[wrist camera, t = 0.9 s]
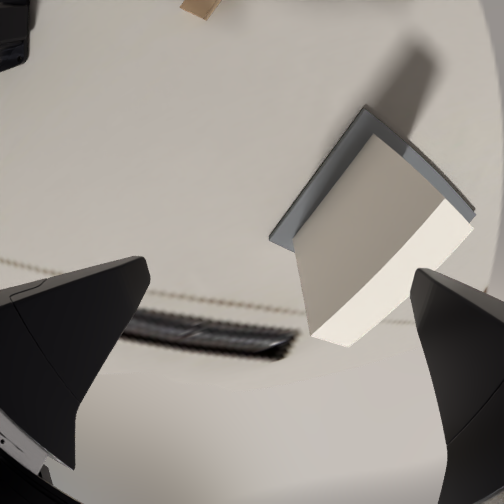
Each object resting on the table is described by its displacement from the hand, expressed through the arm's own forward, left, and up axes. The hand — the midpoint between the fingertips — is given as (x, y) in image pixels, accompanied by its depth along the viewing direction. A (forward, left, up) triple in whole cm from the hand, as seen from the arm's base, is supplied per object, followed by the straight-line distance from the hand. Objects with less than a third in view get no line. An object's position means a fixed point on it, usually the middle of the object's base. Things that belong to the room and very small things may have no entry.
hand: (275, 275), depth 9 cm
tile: (+7, -3, -12) cm, 14 cm away
